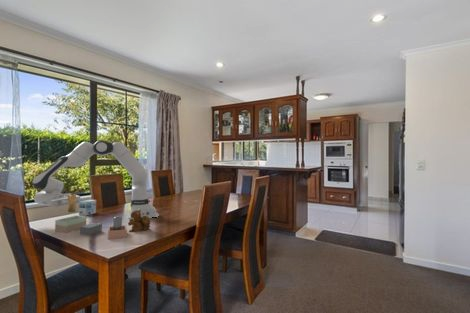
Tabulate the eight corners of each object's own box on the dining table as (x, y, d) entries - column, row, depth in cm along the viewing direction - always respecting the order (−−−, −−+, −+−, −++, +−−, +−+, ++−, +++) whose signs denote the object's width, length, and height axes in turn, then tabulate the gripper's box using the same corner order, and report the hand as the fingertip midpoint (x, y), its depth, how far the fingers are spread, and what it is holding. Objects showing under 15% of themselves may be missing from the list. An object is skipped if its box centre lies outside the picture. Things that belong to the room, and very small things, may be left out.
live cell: (75, 210, 159) (76, 192, 159) (75, 212, 155) (75, 193, 155) (67, 211, 157) (68, 193, 157) (66, 212, 153) (67, 194, 153)
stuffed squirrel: (131, 228, 161) (131, 208, 161) (153, 228, 162) (153, 208, 162) (125, 233, 151) (126, 211, 151) (148, 233, 152) (149, 212, 152)
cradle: (92, 230, 153) (93, 222, 153) (101, 232, 151) (102, 223, 151) (80, 234, 144) (80, 225, 144) (89, 236, 142) (89, 227, 143)
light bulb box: (85, 215, 189) (86, 202, 189) (78, 215, 190) (78, 201, 190) (96, 212, 199) (96, 199, 200) (89, 212, 201) (89, 199, 201)
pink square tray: (125, 233, 150) (125, 225, 150) (126, 238, 141) (126, 229, 141) (108, 235, 146) (108, 226, 146) (107, 240, 137) (108, 231, 137)
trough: (75, 225, 164) (75, 215, 164) (86, 226, 161) (86, 216, 161) (55, 231, 150) (55, 220, 150) (66, 232, 148) (66, 221, 148)
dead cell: (121, 234, 146) (121, 214, 147) (121, 236, 143) (122, 216, 143) (112, 235, 144) (113, 215, 145) (112, 237, 141) (113, 217, 141)
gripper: (40, 197, 149) (57, 199, 146) (70, 193, 169) (86, 194, 165) (39, 207, 149) (56, 209, 145) (70, 202, 169) (86, 203, 165)
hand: (72, 201), depth 155 cm, fingers closed on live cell, 4 cm apart
